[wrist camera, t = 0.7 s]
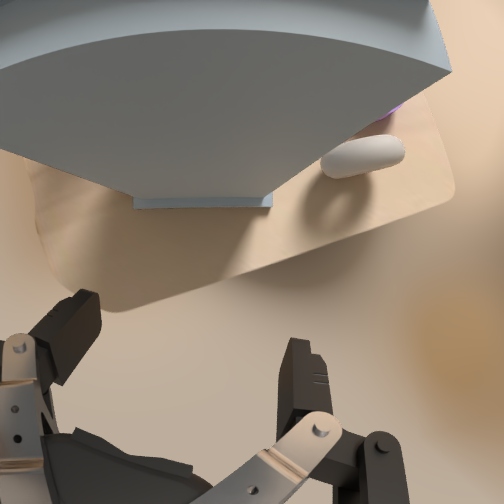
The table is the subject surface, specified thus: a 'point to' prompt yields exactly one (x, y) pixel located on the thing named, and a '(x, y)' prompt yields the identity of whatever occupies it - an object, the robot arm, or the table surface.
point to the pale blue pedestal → (205, 88)
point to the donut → (363, 156)
